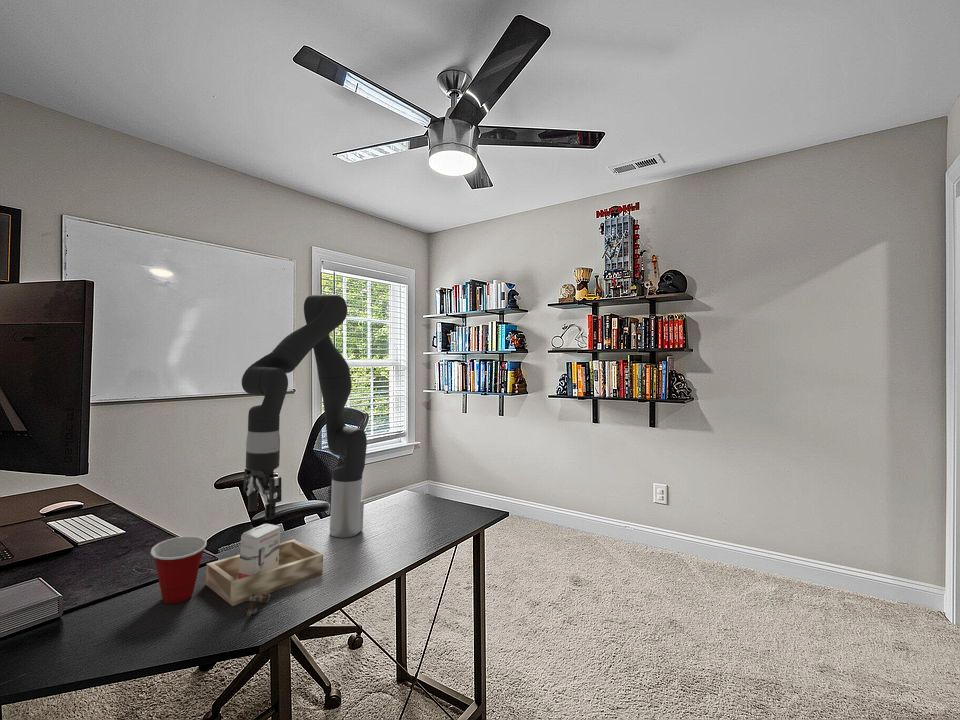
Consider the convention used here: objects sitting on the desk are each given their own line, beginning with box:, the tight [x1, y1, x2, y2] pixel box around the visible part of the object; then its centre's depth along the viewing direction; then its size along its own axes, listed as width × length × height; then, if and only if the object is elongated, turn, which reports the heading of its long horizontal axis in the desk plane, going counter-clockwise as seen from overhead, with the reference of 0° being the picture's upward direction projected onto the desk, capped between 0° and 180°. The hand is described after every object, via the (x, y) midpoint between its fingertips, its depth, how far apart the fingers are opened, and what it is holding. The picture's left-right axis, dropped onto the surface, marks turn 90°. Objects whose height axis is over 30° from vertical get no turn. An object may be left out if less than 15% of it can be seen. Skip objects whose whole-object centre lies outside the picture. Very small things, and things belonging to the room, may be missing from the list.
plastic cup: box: [150, 535, 208, 604], centre depth 110 cm, size 11×11×12 cm
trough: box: [205, 538, 324, 607], centre depth 120 cm, size 22×14×5 cm, turn 140°
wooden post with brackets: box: [246, 593, 271, 619], centre depth 106 cm, size 2×8×4 cm, turn 178°
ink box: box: [238, 523, 281, 579], centre depth 119 cm, size 9×5×12 cm, turn 164°
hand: (261, 514), depth 119 cm, fingers open, 8 cm apart
